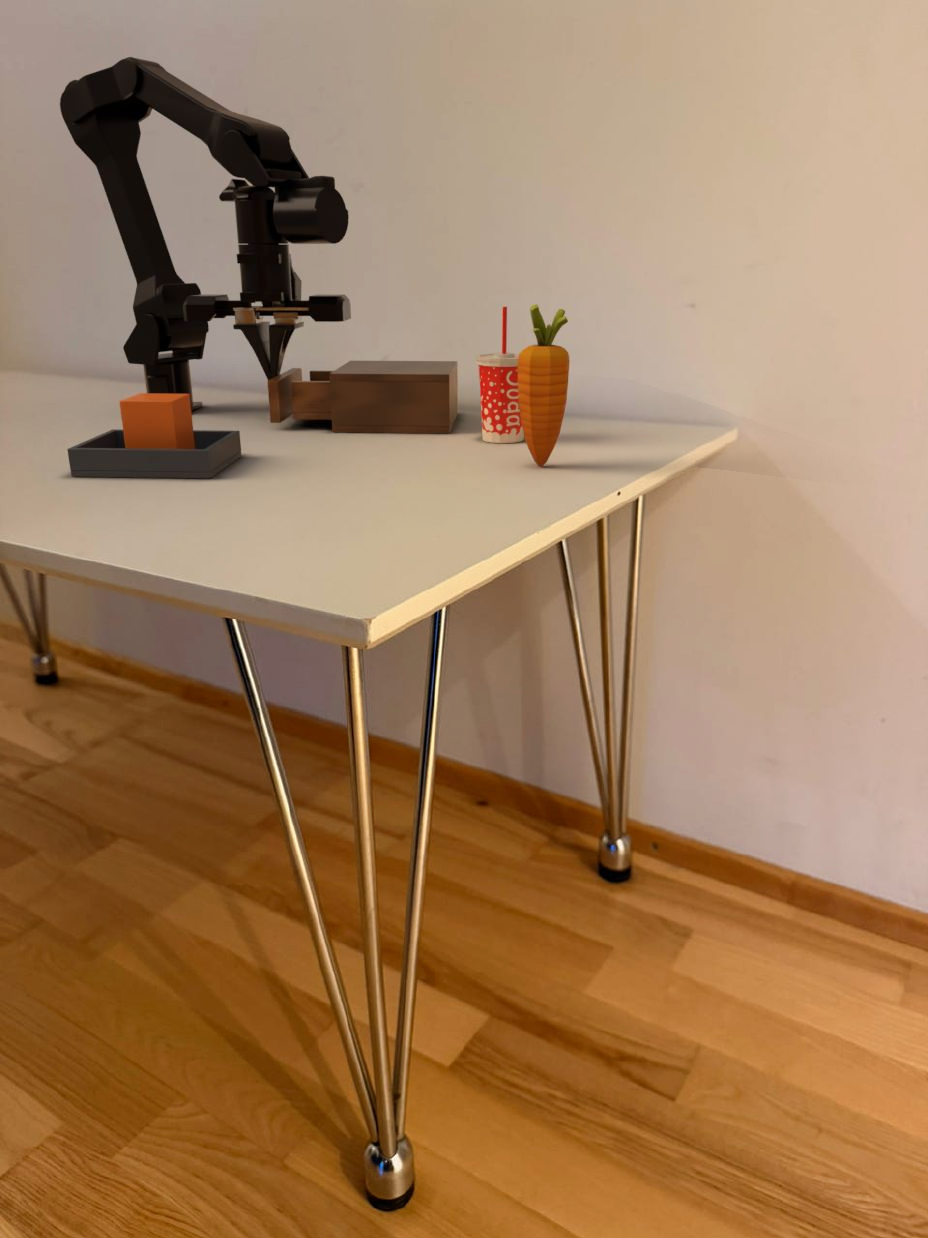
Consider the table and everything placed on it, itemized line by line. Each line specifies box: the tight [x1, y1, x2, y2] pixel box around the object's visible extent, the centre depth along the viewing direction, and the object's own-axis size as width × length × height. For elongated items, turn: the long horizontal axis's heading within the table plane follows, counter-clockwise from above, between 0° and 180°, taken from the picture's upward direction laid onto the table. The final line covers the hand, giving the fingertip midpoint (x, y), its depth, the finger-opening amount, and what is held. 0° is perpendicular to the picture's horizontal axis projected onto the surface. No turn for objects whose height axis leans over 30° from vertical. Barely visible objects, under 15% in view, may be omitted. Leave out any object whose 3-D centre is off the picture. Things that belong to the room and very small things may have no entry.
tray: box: [66, 428, 243, 479], centre depth 92 cm, size 10×13×3 cm
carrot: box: [518, 304, 570, 468], centre depth 89 cm, size 5×5×15 cm
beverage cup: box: [475, 306, 525, 444], centre depth 103 cm, size 6×6×14 cm
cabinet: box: [329, 360, 459, 434], centre depth 114 cm, size 14×14×7 cm
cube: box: [119, 392, 195, 449], centre depth 91 cm, size 5×5×6 cm
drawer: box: [267, 367, 334, 424], centre depth 115 cm, size 14×12×5 cm
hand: (273, 383), depth 115 cm, fingers closed
